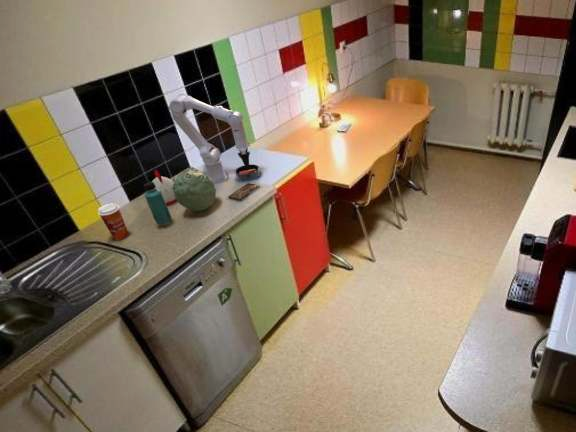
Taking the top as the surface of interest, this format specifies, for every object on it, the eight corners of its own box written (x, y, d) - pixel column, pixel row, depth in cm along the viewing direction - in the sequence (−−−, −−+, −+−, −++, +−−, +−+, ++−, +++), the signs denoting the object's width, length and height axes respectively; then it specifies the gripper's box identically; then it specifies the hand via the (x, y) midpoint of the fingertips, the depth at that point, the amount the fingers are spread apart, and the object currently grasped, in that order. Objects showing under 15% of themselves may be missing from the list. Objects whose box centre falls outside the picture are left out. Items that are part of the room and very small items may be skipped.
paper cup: (117, 243, 171) (103, 214, 164) (107, 238, 175) (92, 209, 167) (135, 233, 177) (122, 205, 169) (125, 228, 180) (112, 200, 173)
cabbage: (227, 198, 198) (215, 160, 187) (207, 220, 182) (193, 180, 171) (196, 197, 200) (183, 159, 189) (174, 219, 185) (158, 179, 174)
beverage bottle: (176, 221, 183) (161, 180, 172) (165, 229, 178) (148, 188, 167) (165, 219, 185) (148, 178, 174) (153, 227, 180) (136, 186, 169)
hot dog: (239, 178, 214) (238, 173, 212) (239, 176, 216) (238, 171, 214) (257, 175, 216) (256, 170, 214) (257, 172, 218) (255, 167, 217)
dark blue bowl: (237, 184, 210) (235, 176, 208) (236, 174, 220) (234, 167, 217) (261, 179, 213) (260, 171, 211) (259, 169, 223) (257, 162, 220)
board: (240, 200, 195) (239, 198, 195) (228, 198, 198) (228, 196, 197) (259, 187, 206) (259, 185, 205) (248, 185, 208) (247, 182, 208)
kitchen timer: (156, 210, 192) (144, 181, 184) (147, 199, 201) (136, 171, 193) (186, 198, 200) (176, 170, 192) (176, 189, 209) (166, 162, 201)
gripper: (249, 140, 200) (255, 166, 208) (247, 130, 212) (253, 155, 219) (234, 143, 198) (241, 169, 206) (232, 133, 210) (239, 157, 217)
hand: (246, 162), depth 212 cm, fingers open, 7 cm apart
